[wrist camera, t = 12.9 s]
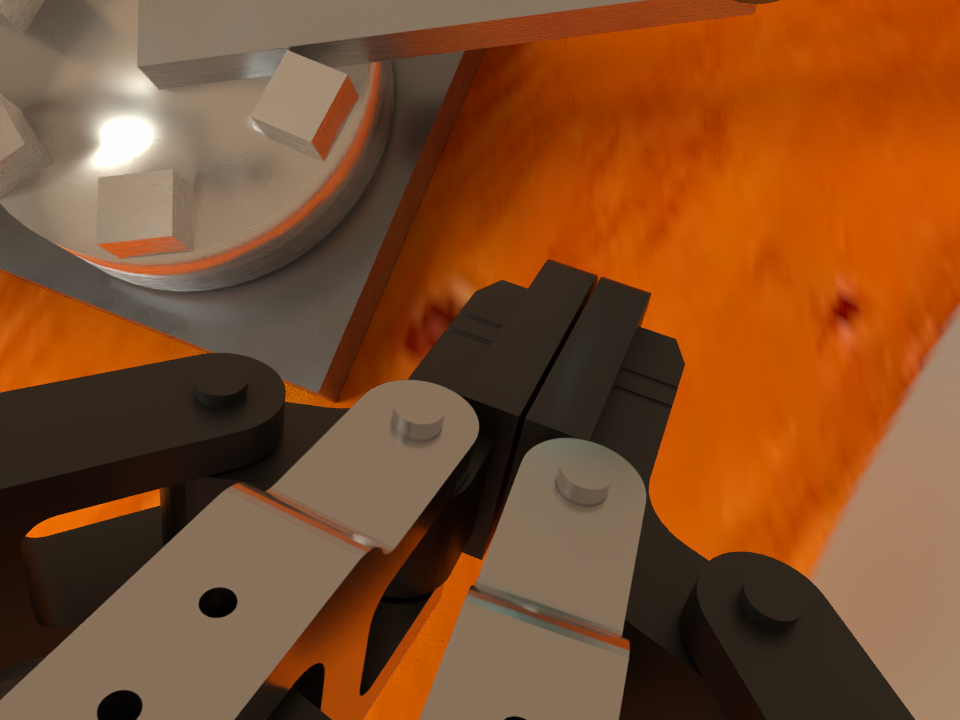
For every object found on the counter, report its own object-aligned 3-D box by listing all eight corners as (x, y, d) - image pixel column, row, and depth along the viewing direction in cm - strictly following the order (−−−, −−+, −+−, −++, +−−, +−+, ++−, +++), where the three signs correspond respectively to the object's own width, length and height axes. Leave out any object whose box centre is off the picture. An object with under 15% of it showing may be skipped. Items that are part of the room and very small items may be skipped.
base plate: (-36, 257, 30) (-76, 239, 28) (140, -95, 32) (114, -132, 30) (335, 402, 27) (318, 393, 25) (502, 10, 29) (496, -25, 27)
